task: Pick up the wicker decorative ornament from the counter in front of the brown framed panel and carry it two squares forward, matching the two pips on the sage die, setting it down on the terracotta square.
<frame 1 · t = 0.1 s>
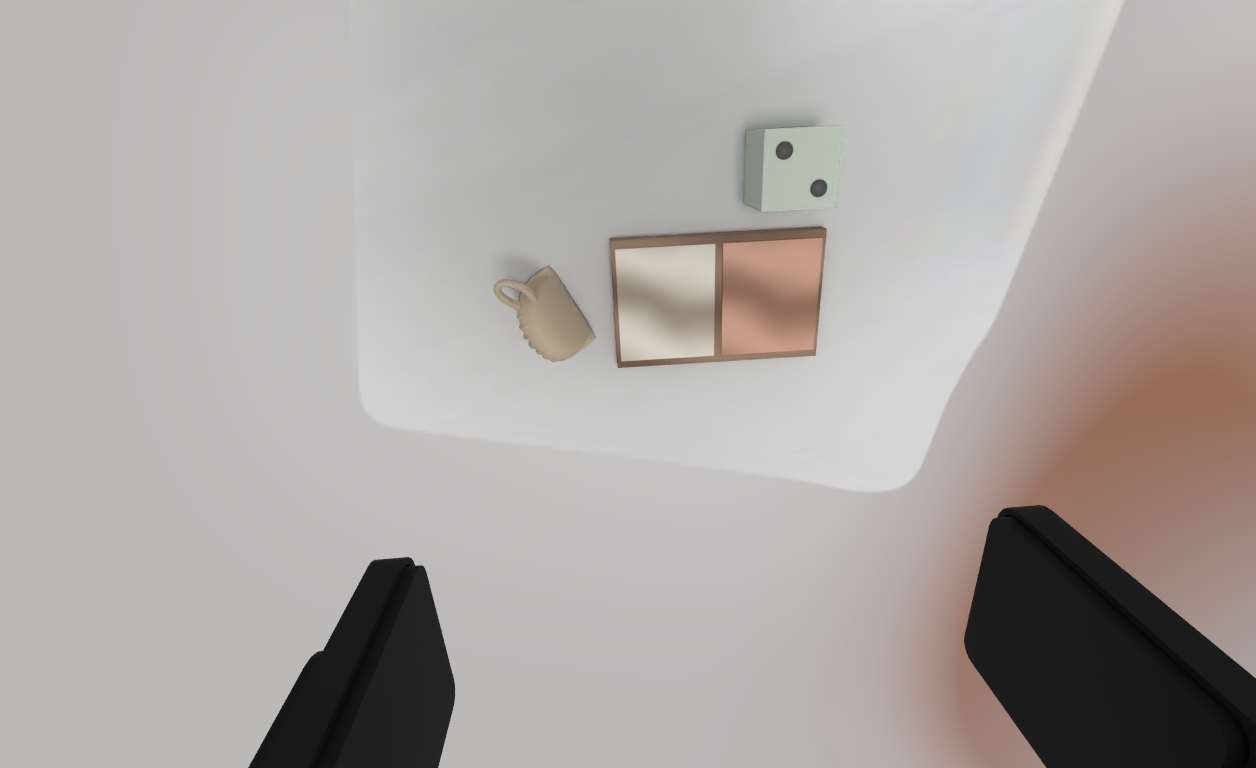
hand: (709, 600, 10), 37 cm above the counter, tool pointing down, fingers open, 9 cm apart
brown framed panel: (715, 297, 45), on the counter
decorative ornament: (550, 306, 45), on the counter
die: (779, 165, 42), on the counter
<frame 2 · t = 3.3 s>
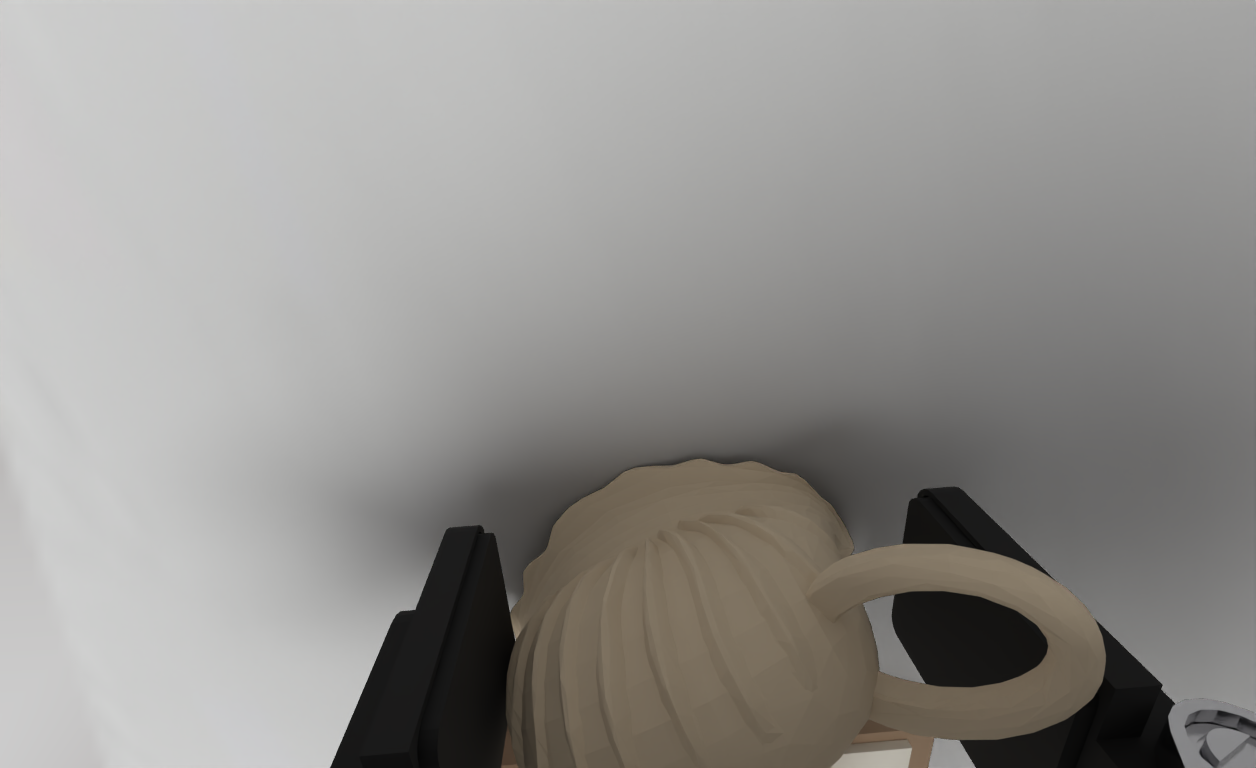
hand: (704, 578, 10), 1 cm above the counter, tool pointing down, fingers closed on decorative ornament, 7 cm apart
decorative ornament: (691, 539, 12), on the counter, touching gripper
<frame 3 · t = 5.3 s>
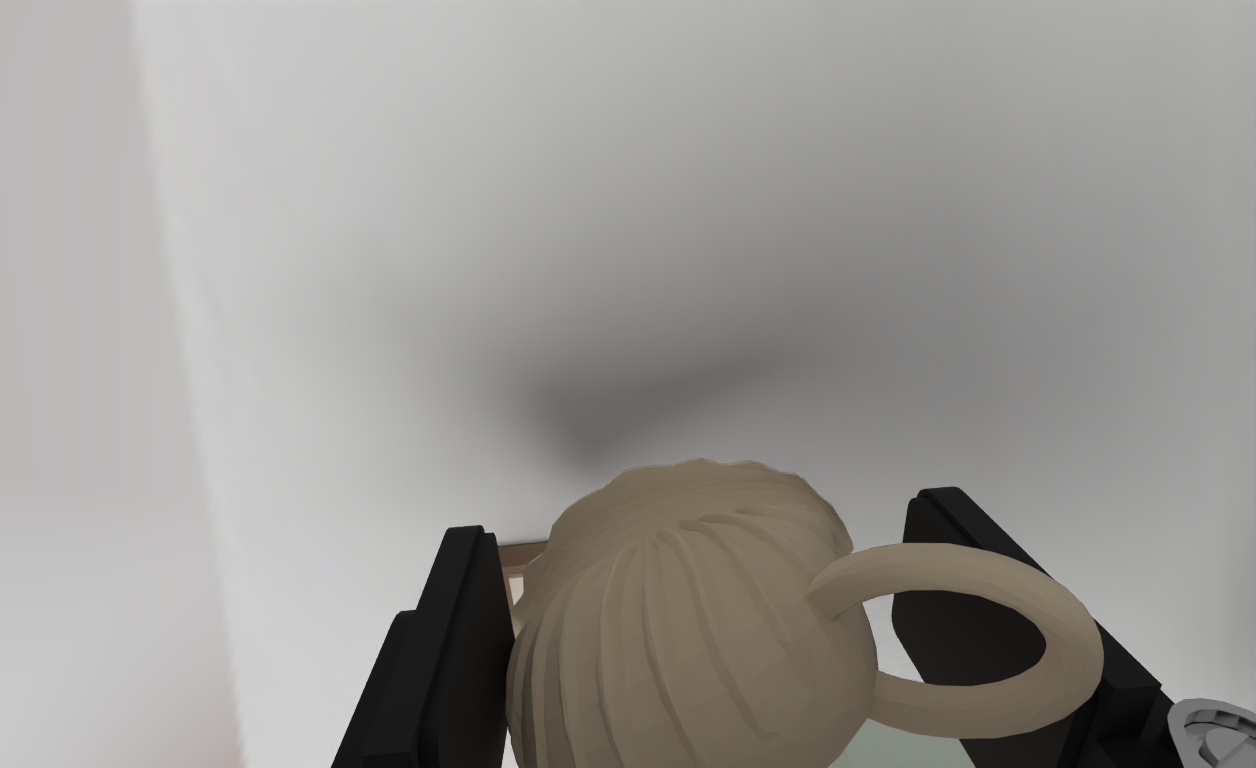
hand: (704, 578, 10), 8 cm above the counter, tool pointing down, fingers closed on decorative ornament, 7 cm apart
brown framed panel: (656, 701, 22), on the counter
decorative ornament: (691, 539, 12), point 6 cm above the counter, touching gripper
die: (884, 751, 24), on the counter
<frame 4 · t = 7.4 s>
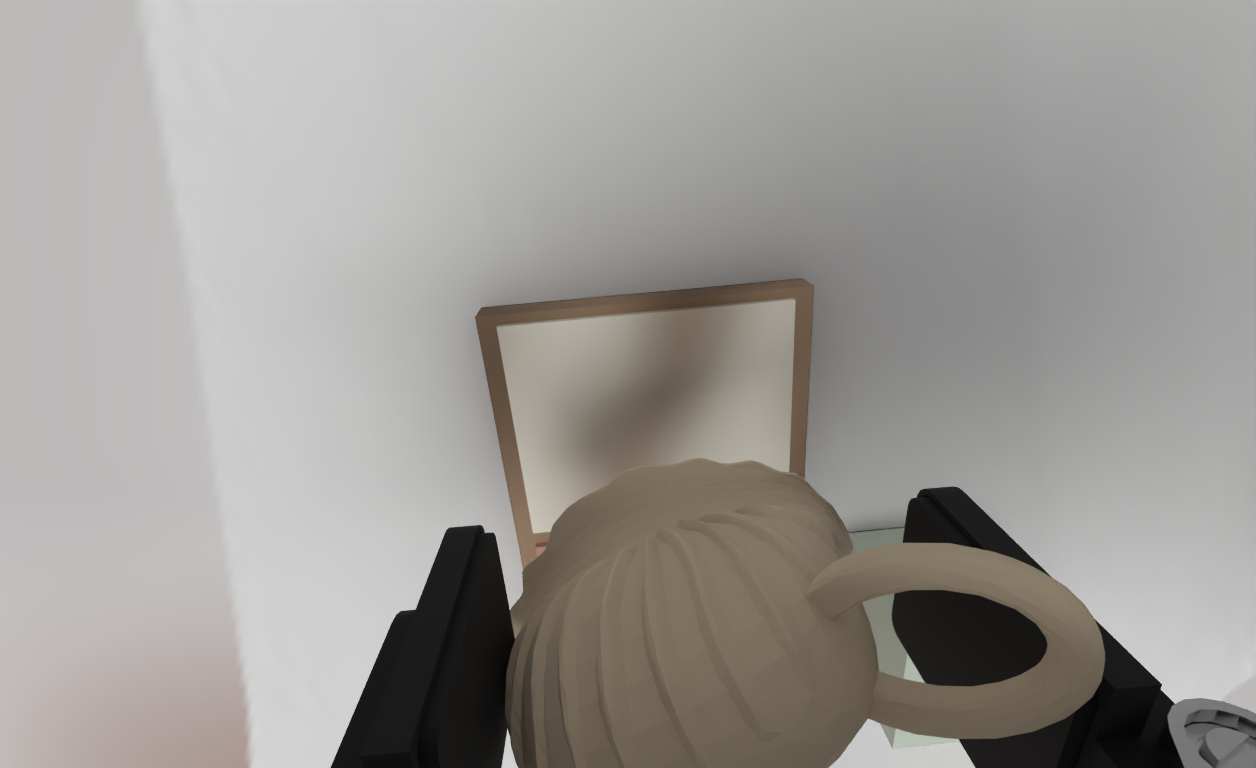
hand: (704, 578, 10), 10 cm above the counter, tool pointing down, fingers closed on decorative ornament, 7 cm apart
brown framed panel: (657, 507, 21), on the counter
decorative ornament: (691, 539, 12), point 8 cm above the counter, touching gripper
die: (901, 578, 23), on the counter
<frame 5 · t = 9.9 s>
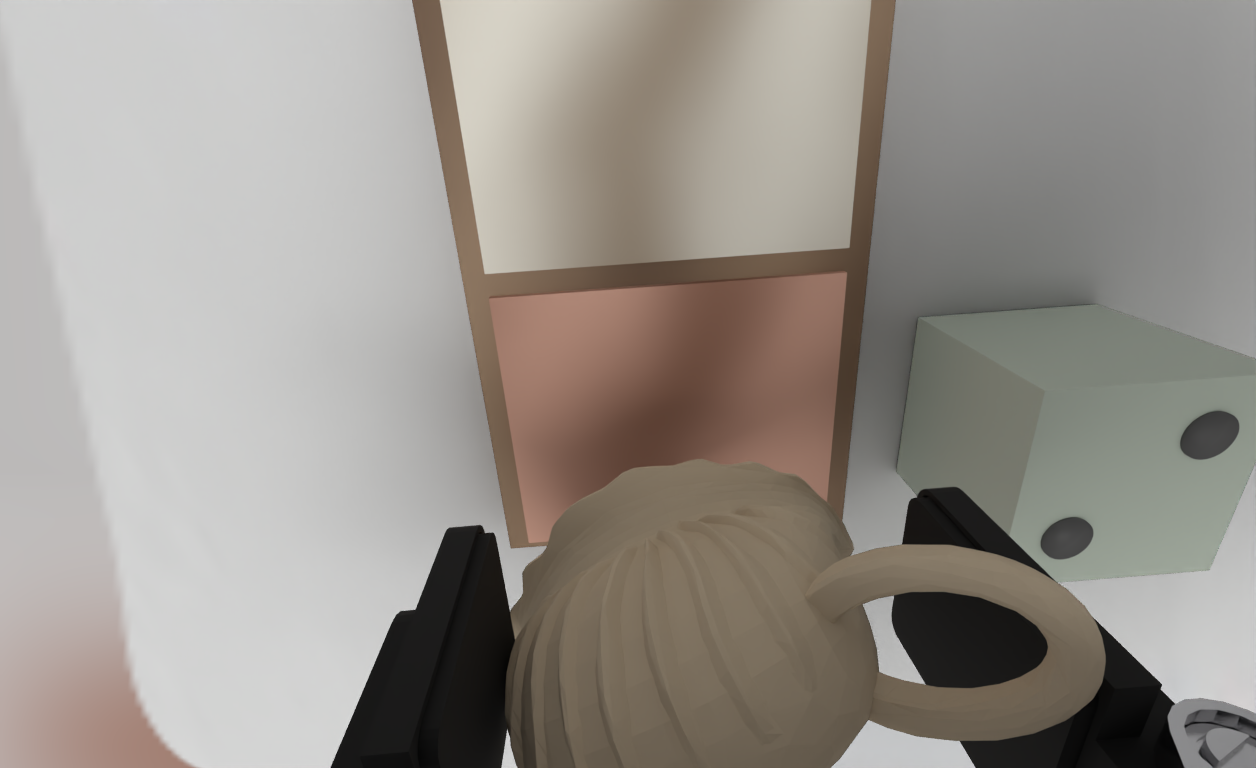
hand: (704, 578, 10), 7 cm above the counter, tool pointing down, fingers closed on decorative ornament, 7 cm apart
brown framed panel: (663, 263, 15), on the counter
decorative ornament: (691, 539, 12), point 6 cm above the counter, touching gripper
die: (990, 392, 17), on the counter
when the fingers open (3 cm above the counter, at t = 11.9 s): decorative ornament stays where it is, resting on brown framed panel.
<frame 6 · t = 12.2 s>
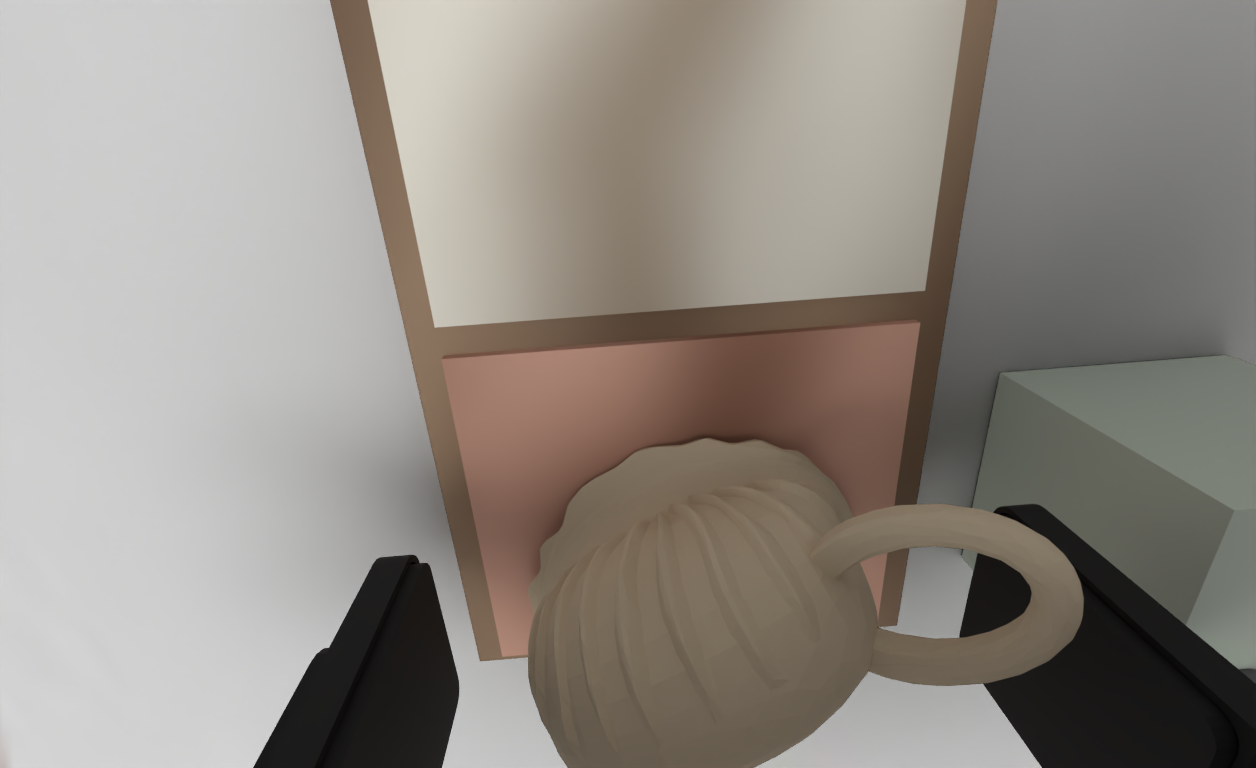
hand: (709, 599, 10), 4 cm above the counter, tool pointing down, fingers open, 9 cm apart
brown framed panel: (674, 307, 12), on the counter
decorative ornament: (699, 517, 12), point 1 cm above the counter, touching brown framed panel
die: (1084, 463, 14), on the counter
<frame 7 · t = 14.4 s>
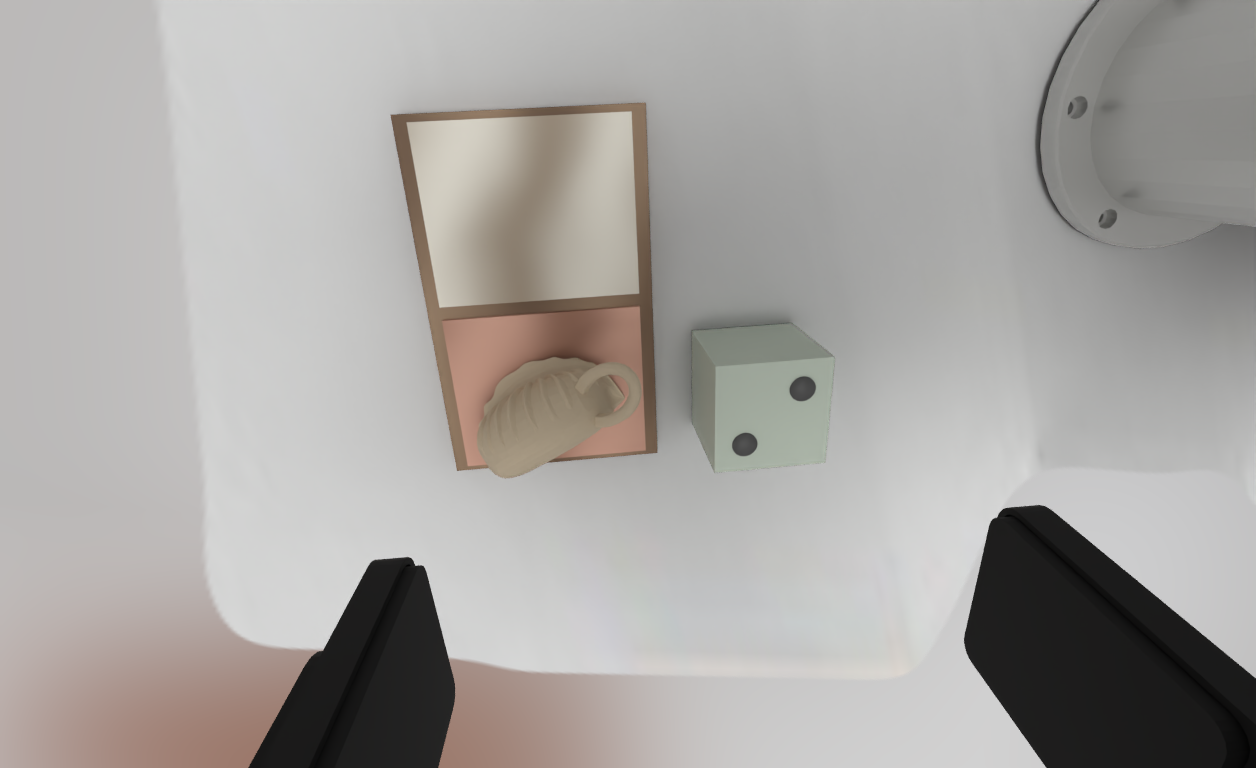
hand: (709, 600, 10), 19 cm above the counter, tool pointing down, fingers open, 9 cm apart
brown framed panel: (542, 300, 27), on the counter
decorative ornament: (556, 396, 28), point 1 cm above the counter, touching brown framed panel
die: (740, 374, 29), on the counter
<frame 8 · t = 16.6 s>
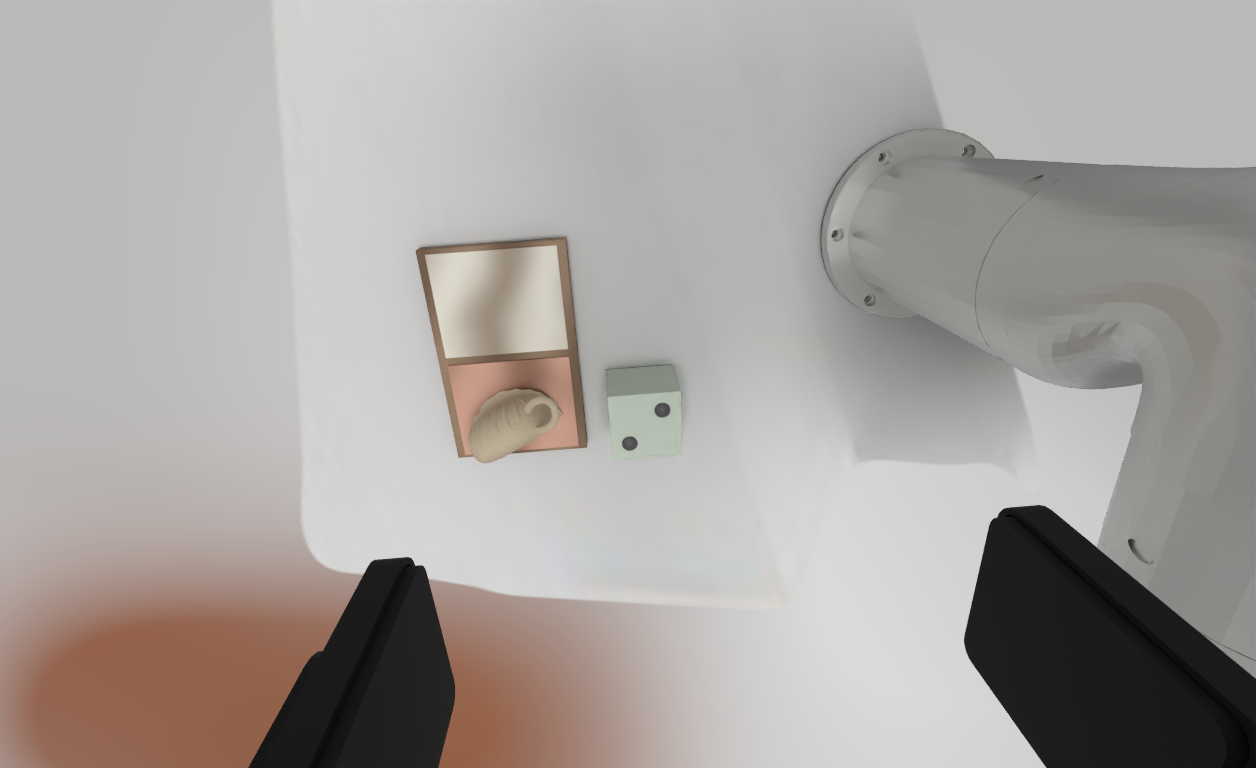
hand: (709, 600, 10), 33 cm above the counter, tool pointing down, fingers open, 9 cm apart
brown framed panel: (509, 351, 43), on the counter
decorative ornament: (519, 412, 44), point 1 cm above the counter, touching brown framed panel
die: (640, 397, 45), on the counter
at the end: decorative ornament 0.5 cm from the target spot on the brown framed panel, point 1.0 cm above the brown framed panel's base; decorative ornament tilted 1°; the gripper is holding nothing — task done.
